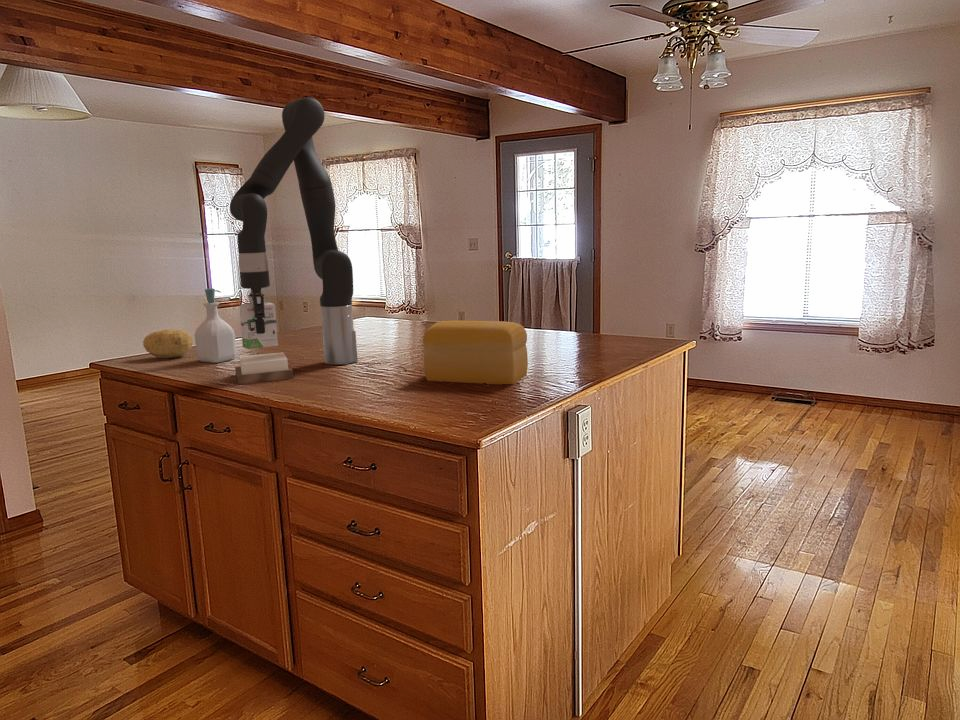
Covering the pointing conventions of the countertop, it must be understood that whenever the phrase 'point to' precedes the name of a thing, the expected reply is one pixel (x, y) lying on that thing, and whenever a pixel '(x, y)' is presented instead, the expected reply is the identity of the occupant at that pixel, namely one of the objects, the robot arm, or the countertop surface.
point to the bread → (475, 352)
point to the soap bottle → (214, 335)
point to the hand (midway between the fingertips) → (259, 331)
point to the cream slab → (263, 363)
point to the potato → (168, 343)
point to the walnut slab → (263, 376)
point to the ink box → (249, 327)
